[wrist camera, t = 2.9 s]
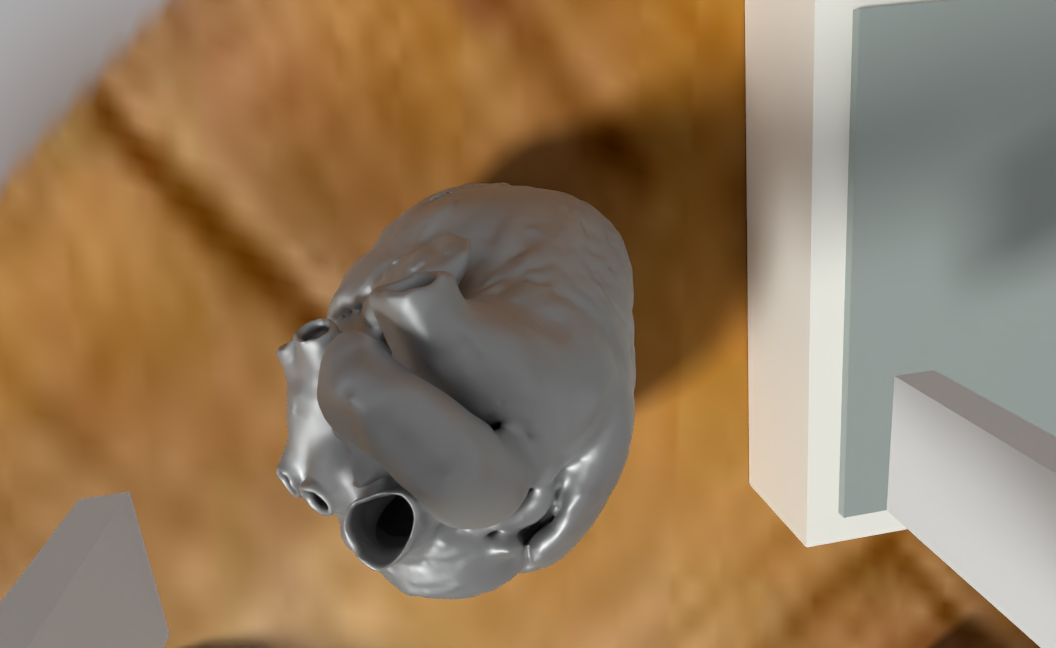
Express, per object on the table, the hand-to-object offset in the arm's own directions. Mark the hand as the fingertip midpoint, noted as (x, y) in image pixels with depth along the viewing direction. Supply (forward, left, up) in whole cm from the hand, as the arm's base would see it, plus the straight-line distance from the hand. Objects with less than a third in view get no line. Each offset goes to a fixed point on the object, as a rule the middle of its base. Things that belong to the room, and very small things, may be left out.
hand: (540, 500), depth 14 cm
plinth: (+17, +1, -11) cm, 20 cm away
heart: (0, 0, -12) cm, 12 cm away
